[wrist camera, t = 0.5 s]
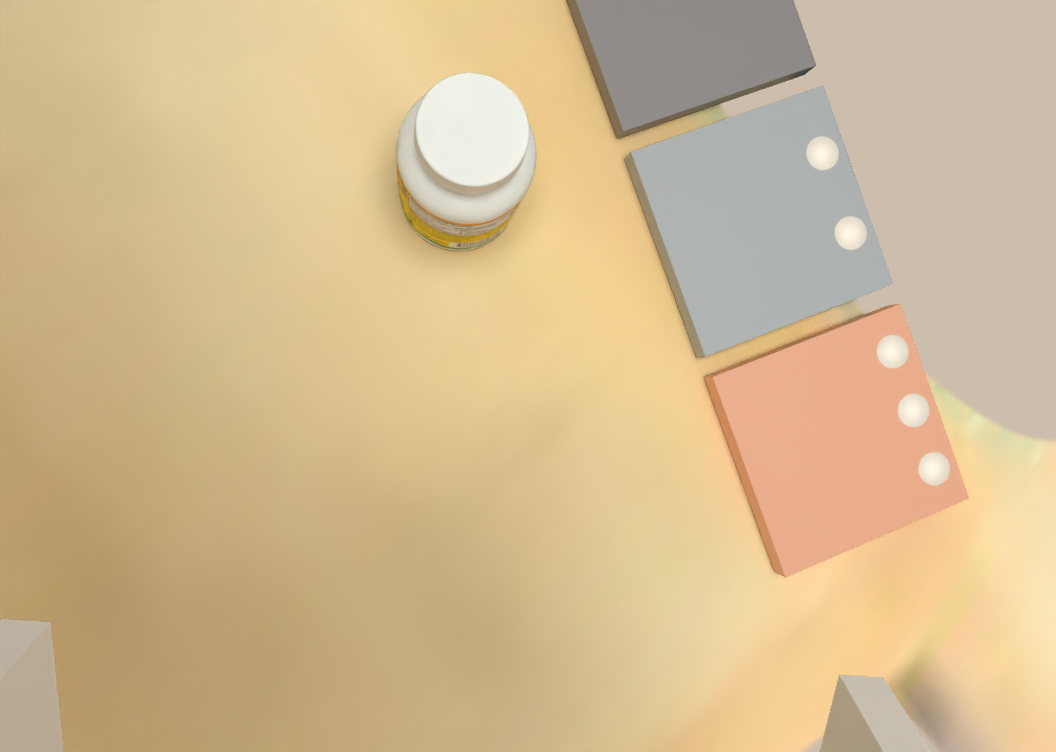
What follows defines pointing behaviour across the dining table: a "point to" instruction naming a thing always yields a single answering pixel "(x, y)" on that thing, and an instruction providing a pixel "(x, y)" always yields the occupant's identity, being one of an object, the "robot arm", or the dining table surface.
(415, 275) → the dining table surface
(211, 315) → the dining table surface
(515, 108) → the supplement bottle
